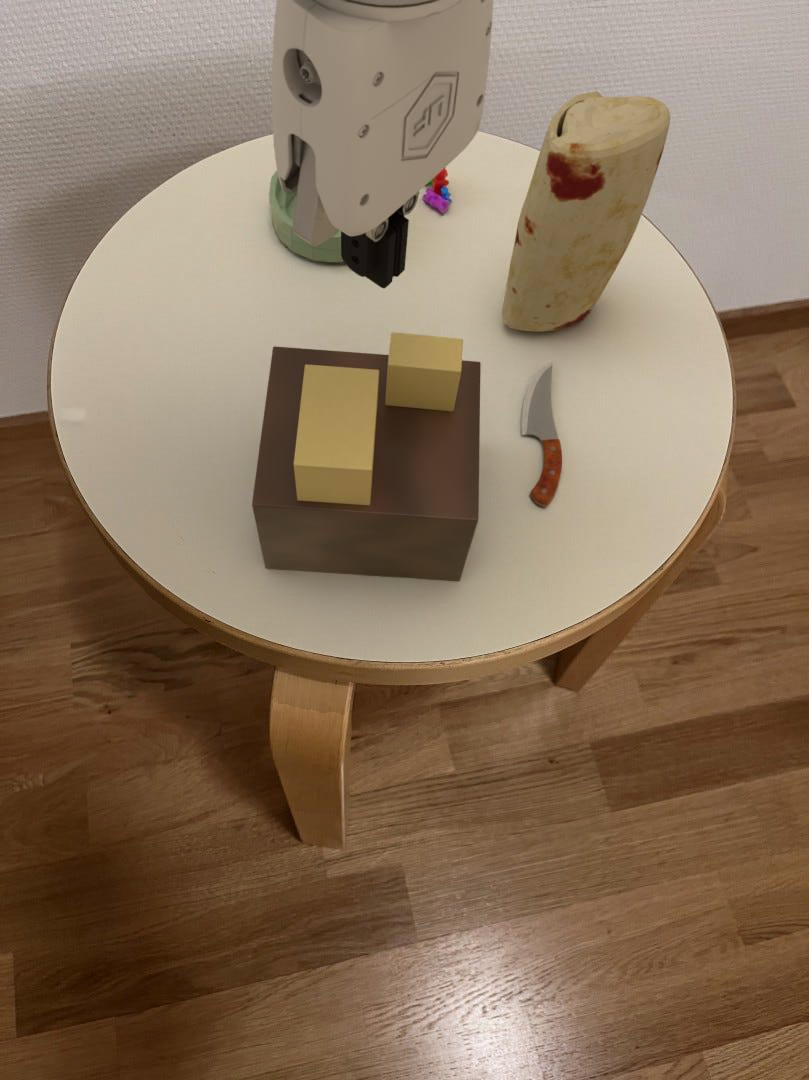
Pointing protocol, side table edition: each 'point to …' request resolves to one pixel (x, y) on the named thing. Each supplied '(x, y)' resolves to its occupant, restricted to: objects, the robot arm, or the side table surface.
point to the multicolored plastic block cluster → (438, 192)
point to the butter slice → (423, 371)
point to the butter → (336, 435)
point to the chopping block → (373, 482)
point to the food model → (582, 207)
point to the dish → (283, 225)
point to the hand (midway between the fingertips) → (372, 266)
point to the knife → (543, 434)
